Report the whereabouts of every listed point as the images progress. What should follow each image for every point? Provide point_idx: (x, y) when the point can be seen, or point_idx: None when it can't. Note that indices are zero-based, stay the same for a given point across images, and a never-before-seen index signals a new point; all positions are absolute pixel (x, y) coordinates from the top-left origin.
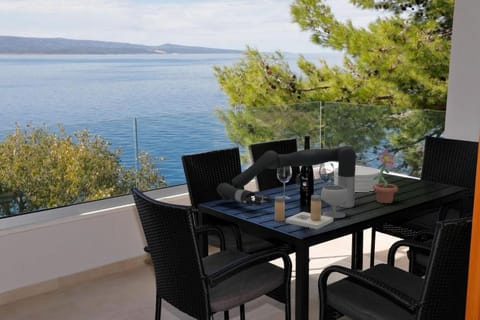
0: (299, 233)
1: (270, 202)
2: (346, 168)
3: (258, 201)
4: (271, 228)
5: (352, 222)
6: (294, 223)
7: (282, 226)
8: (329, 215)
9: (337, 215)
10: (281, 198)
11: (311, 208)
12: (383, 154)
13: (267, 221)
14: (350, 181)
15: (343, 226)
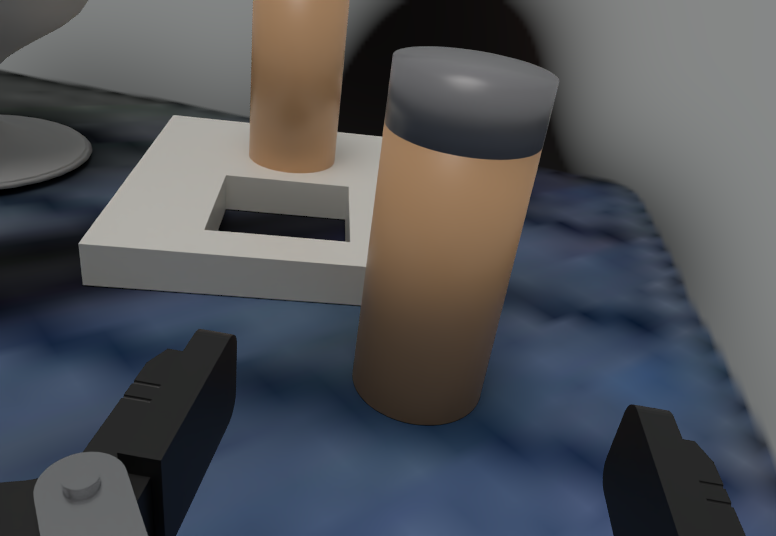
0: (570, 203)
1: (222, 426)
2: None
3: (672, 442)
4: (698, 334)
5: (136, 102)
6: None
7: (563, 297)
8: (53, 149)
9: (35, 125)
10: (508, 60)
11: (336, 65)
12: None
13: (586, 453)
14: None
15: None
